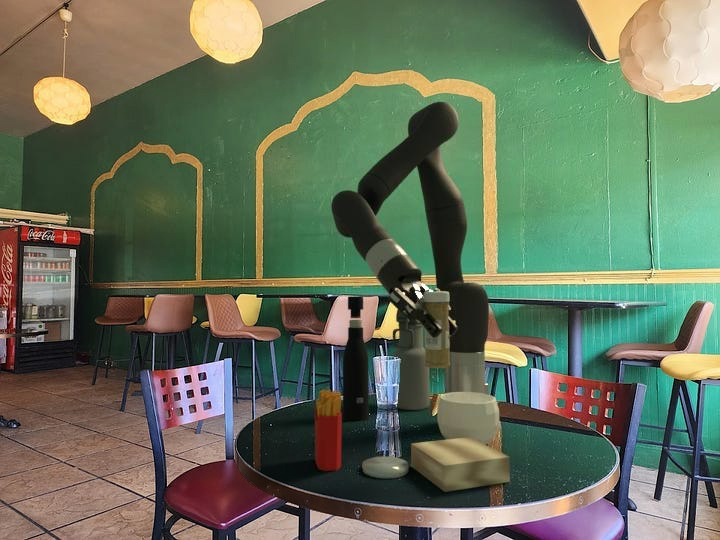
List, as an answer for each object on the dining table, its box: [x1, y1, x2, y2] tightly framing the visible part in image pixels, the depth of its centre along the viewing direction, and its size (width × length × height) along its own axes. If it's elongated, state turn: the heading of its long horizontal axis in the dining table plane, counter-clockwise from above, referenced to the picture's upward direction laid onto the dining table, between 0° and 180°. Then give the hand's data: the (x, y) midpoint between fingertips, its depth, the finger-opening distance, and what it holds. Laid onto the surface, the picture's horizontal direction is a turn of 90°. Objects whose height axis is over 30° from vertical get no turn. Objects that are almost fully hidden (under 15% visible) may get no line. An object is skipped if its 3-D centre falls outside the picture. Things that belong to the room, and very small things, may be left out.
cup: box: [436, 392, 500, 445], centre depth 100 cm, size 12×12×10 cm
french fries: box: [314, 389, 343, 472], centre depth 89 cm, size 9×4×13 cm, turn 13°
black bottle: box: [342, 296, 370, 422], centre depth 123 cm, size 6×6×30 cm
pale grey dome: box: [361, 456, 409, 479], centre depth 86 cm, size 8×8×1 cm
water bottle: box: [392, 307, 431, 411], centre depth 135 cm, size 10×10×28 cm
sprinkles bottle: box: [424, 290, 450, 369], centre depth 88 cm, size 5×5×14 cm
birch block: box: [410, 437, 511, 493], centre depth 84 cm, size 12×12×4 cm
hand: (446, 333), depth 87 cm, fingers closed on sprinkles bottle, 4 cm apart
